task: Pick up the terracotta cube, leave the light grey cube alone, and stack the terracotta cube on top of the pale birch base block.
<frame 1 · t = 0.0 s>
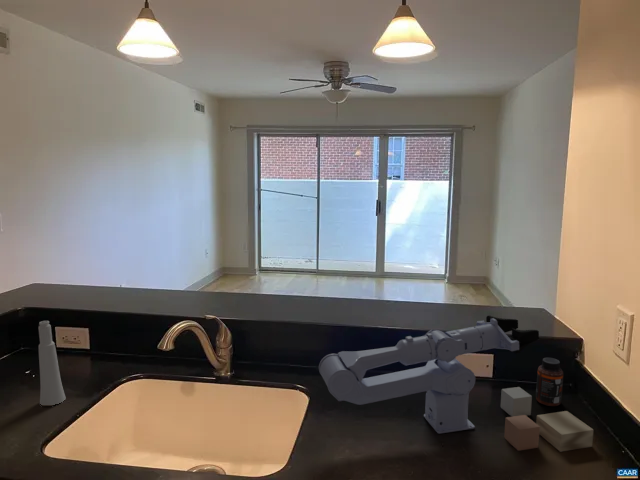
hand: (527, 328, 113), 22 cm above the counter, tool horizontal, fingers open, 7 cm apart
birch base block: (563, 438, 106), on the counter
supplement bottle: (548, 402, 122), on the counter
terracotta cube: (520, 442, 105), on the counter
cosmetic bottle: (53, 402, 125), on the counter
grey cube: (515, 411, 118), on the counter
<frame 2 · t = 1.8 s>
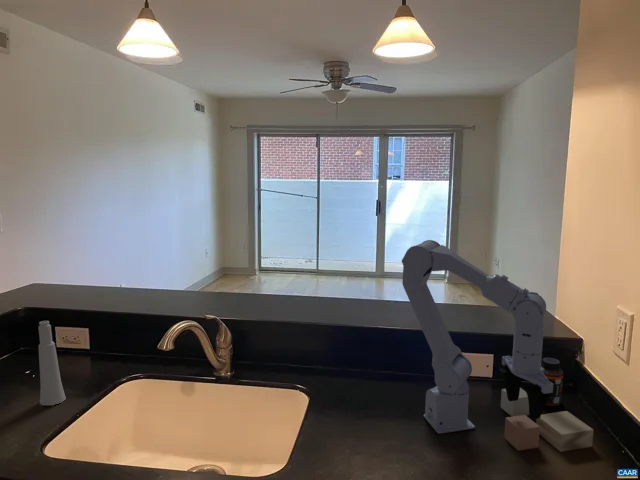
hand: (523, 408, 103), 8 cm above the counter, tool pointing down, fingers open, 7 cm apart
nothing on the counter moved.
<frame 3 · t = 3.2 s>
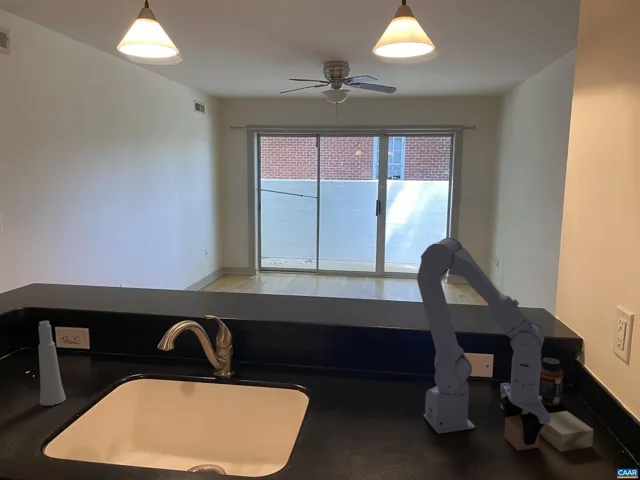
hand: (521, 436, 105), 1 cm above the counter, tool pointing down, fingers closed on terracotta cube, 5 cm apart
terracotta cube: (520, 442, 105), on the counter, touching gripper
everything else where it was.
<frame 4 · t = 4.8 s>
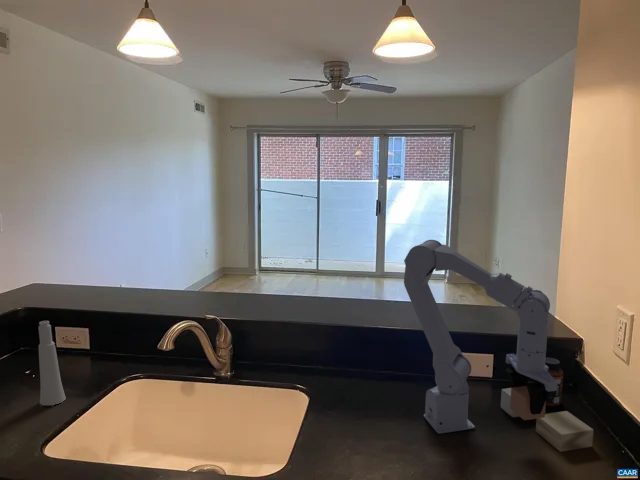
hand: (527, 406, 103), 8 cm above the counter, tool pointing down, fingers closed on terracotta cube, 5 cm apart
terracotta cube: (527, 412, 104), point 7 cm above the counter, touching gripper
everything else where it was.
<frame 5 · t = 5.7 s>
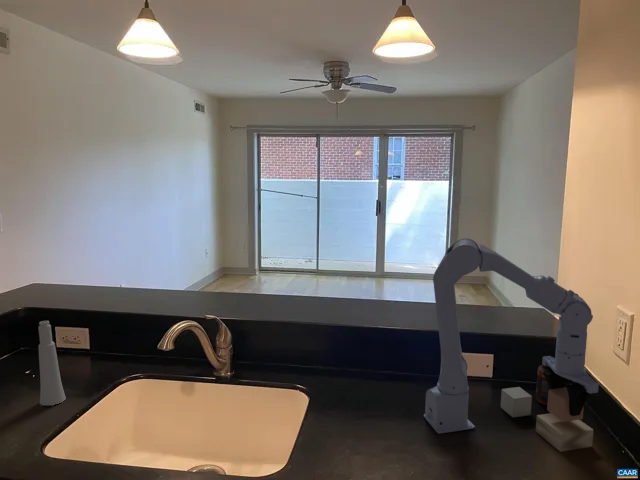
hand: (565, 408, 105), 7 cm above the counter, tool pointing down, fingers closed on terracotta cube, 5 cm apart
terracotta cube: (564, 414, 105), point 6 cm above the counter, touching gripper
everything else where it was.
when the fingers open (7 cm above the counter, at t = 6.3 s): terracotta cube drops 1 cm, resting on birch base block.
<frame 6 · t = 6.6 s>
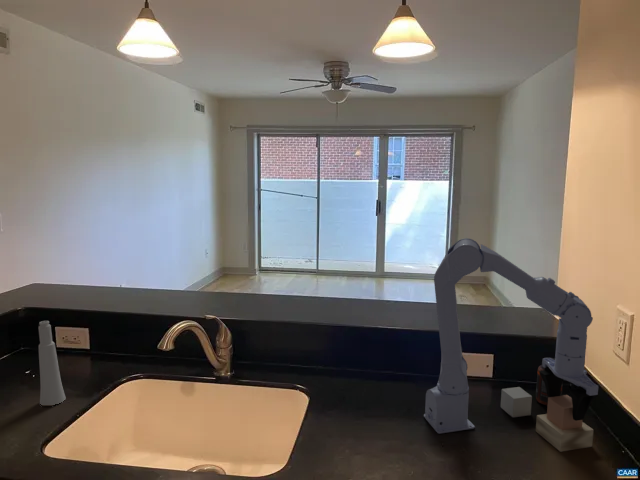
hand: (565, 410, 105), 7 cm above the counter, tool pointing down, fingers open, 7 cm apart
terracotta cube: (563, 422, 105), point 4 cm above the counter, touching birch base block
everything else where it was.
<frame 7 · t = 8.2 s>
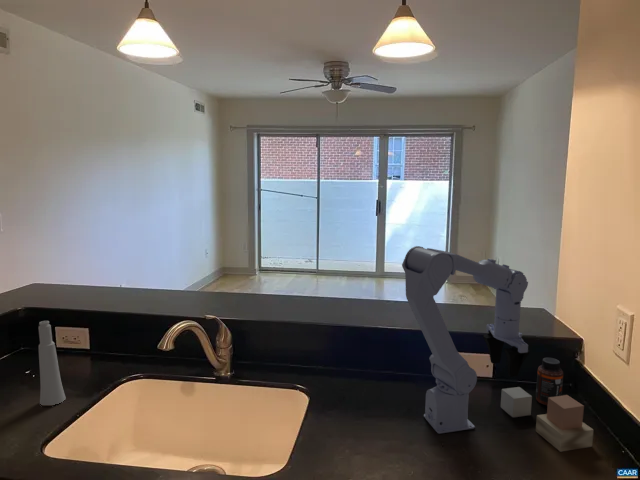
hand: (503, 369, 118), 10 cm above the counter, tool pointing down, fingers open, 7 cm apart
nothing on the counter moved.
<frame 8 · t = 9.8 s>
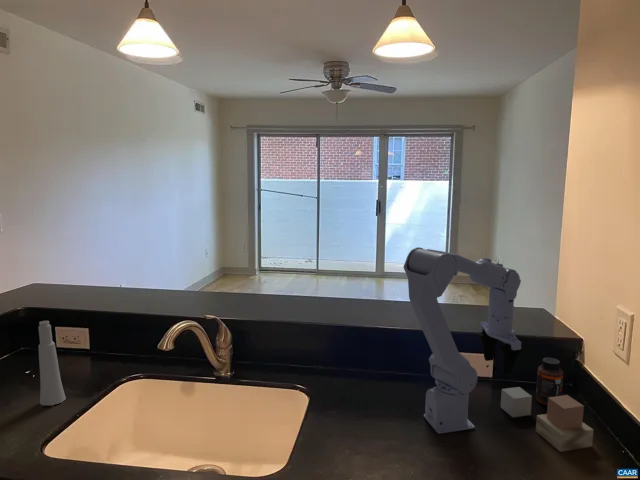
hand: (497, 366, 119), 10 cm above the counter, tool pointing down, fingers open, 7 cm apart
nothing on the counter moved.
at the end: terracotta cube 0.1 cm off-centre on the birch base block, point 4.0 cm above the birch base block's base; terracotta cube tilted 0°; the gripper is holding nothing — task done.
